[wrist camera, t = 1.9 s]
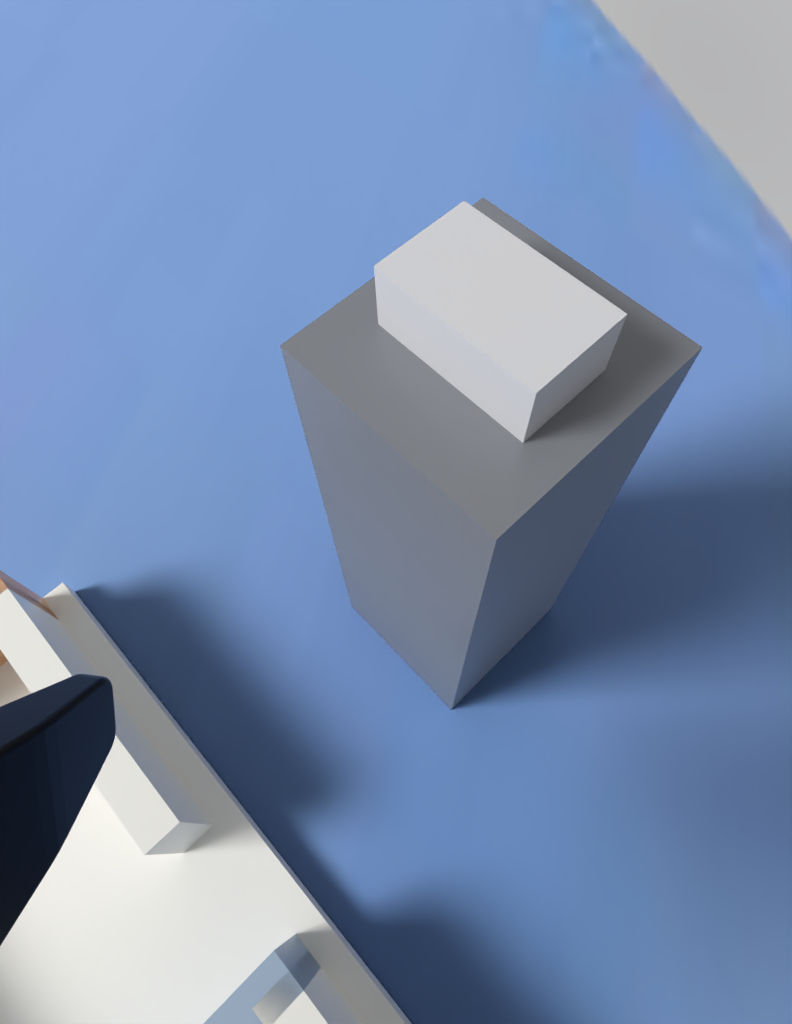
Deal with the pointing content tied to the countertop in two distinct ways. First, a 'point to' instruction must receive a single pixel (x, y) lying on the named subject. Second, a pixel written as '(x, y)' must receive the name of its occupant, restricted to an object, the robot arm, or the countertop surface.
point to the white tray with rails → (161, 873)
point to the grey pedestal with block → (475, 432)
